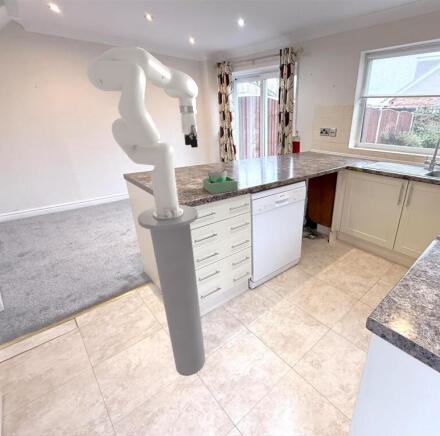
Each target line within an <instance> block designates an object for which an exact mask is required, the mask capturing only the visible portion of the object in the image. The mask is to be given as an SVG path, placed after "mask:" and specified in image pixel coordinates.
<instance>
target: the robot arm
mask: <svg viewBox="0 0 440 436" xmlns="http://www.w3.org/2000/svg"><path fill="white" fill-rule="evenodd" d="M86 70H87V71H86V74H87V77H88V80H89V81H90V83H91V85H93V87H95V88H96V89H98V90H100V91H102V92H103V91H104V92H119V93H120V97H119V101H118V105H117V106H118V107H117V110H118V114H119V115H120V117H119V118H117V119H115V120H114V121H113V122H112V124H111V133H112V136H113V138H114V140H115V142H116V143H117V145H118V146H119V147H120V149H121V150H122V151H123V152H124V154H126V156H127V157H128V158H129V159H130V161H132V162H133V163H134V164H137V165H143V166H145V165H146V166H154V167H153V169H152V172H151V173H150V182H151V187H152V193H153V200H154V205H155V207H156V211H155V212H154V213H153V217H154V218H156V219H162V220H167V219H174V218H177V217H180V216H181V215H182V214H183V210H182V209H181V208H179V205H180V203H179V196H178V187H177V180H176V173H175V159H176V152H175V149H174V147H173V146H172V144H170V143H168V142H164V141H160V140H161V134H160V131H159V128H158V127H157V125H156V123H155V121H154V120H153V118H152V117H151V115H150V113H149V111H148V110H147V107H146V103H145V96H146V85H147V82H148V83H150V84H152V85H153V86H155V87H156V88H160V89H163V91H164V93H165V94H166V95H167V96H168V97H170V98H173V99H178V105H179V113H180V122H181V124H180V125H181V133H182V134H183V136H184V145H185V146H190V147H191V148H193V149H194V148H198V147H199V146H198V130H197V129H198V127H197V120H196V114H197V107H196V97H197V96H198V94H199V93H198V92H199V88H198V85H197V83H196V81H195V80H194V79H193V78H192V77H191V76H190V75H189V74H187V73H185V72H183V71H180V70H178V69H176V68H174V67H170V66H169V65H168V66H167V65H165V64H163V63H162V62H161V61H159V60H158V58H156V57H155V56H153V55H152V53H150V52H149V51H147V50H146V49H144V48H142V47H137V46H114V47H111V48H109V49H107V50H106V51H104V52H103V53H101V54H99V55H98V56H97V57H95V58H93V59H92V60H91V61H90V62H89V63H88V65H87V69H86Z"/></svg>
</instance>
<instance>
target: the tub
mask: <svg viewBox="0 0 440 436" xmlns="http://www.w3.org/2000/svg"><path fill="white" fill-rule="evenodd" d="M202 185H203V186H202V187H203V189H204V190H205V191H206V192H208V193H209V194H211V195H215V194H220V193H228V192H232V191H238V190H239V189H238V188H239V187H238V180H237V179H235V178H233V177H231V176H229V175H226V182H220V183H213V184H211V183H210V180H209V177H208V178H203V179H202Z"/></svg>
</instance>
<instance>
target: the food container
mask: <svg viewBox="0 0 440 436" xmlns="http://www.w3.org/2000/svg"><path fill="white" fill-rule="evenodd" d="M207 176H208V178H209V180H210V183H211V184H213V183H220V182H226V176H228V172H227V170H226V169H223V170H222V171H214V172H212V171H211V172H210V171H208V172H207Z"/></svg>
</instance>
